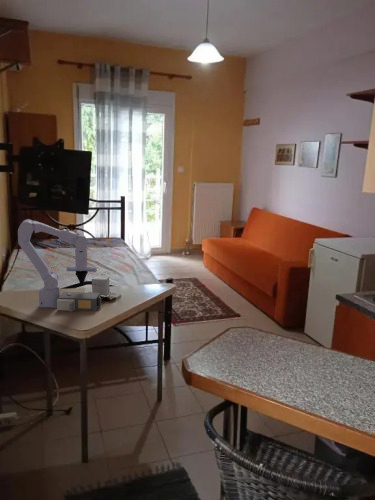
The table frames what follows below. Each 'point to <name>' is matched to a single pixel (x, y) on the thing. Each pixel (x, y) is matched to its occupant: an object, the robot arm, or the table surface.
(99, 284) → the small box
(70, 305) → the camera door
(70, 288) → the table surface
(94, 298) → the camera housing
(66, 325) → the table surface
